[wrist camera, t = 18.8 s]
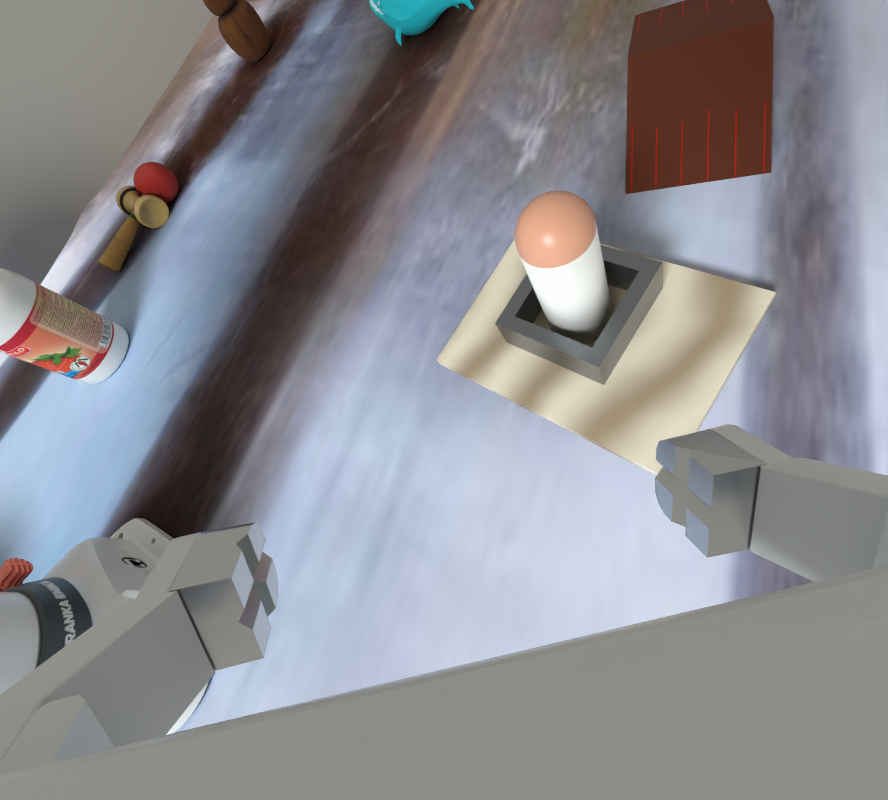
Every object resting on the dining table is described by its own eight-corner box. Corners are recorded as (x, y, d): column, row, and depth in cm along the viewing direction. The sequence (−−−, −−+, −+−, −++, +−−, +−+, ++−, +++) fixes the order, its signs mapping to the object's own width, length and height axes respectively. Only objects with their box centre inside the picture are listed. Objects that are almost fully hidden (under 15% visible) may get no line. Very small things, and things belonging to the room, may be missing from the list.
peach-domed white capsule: (544, 343, 41) (497, 244, 30) (555, 290, 43) (514, 176, 31) (607, 346, 39) (582, 240, 27) (617, 290, 40) (597, 167, 29)
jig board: (440, 364, 46) (436, 360, 45) (528, 229, 48) (525, 222, 47) (668, 481, 35) (668, 478, 34) (773, 299, 36) (776, 292, 35)
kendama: (139, 283, 75) (192, 180, 75) (93, 262, 71) (149, 152, 70) (128, 273, 80) (177, 177, 80) (84, 254, 76) (136, 151, 75)
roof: (635, 18, 52) (633, -31, 48) (758, -18, 48) (767, -76, 44) (626, 199, 45) (622, 159, 41) (769, 177, 40) (781, 129, 36)
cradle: (506, 342, 43) (494, 323, 40) (561, 256, 44) (553, 231, 41) (604, 385, 38) (598, 367, 35) (662, 287, 39) (662, 262, 36)
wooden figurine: (264, 66, 81) (189, -33, 68) (241, 70, 84) (165, -25, 71) (281, 36, 82) (210, -67, 70) (258, 41, 85) (186, -57, 72)
